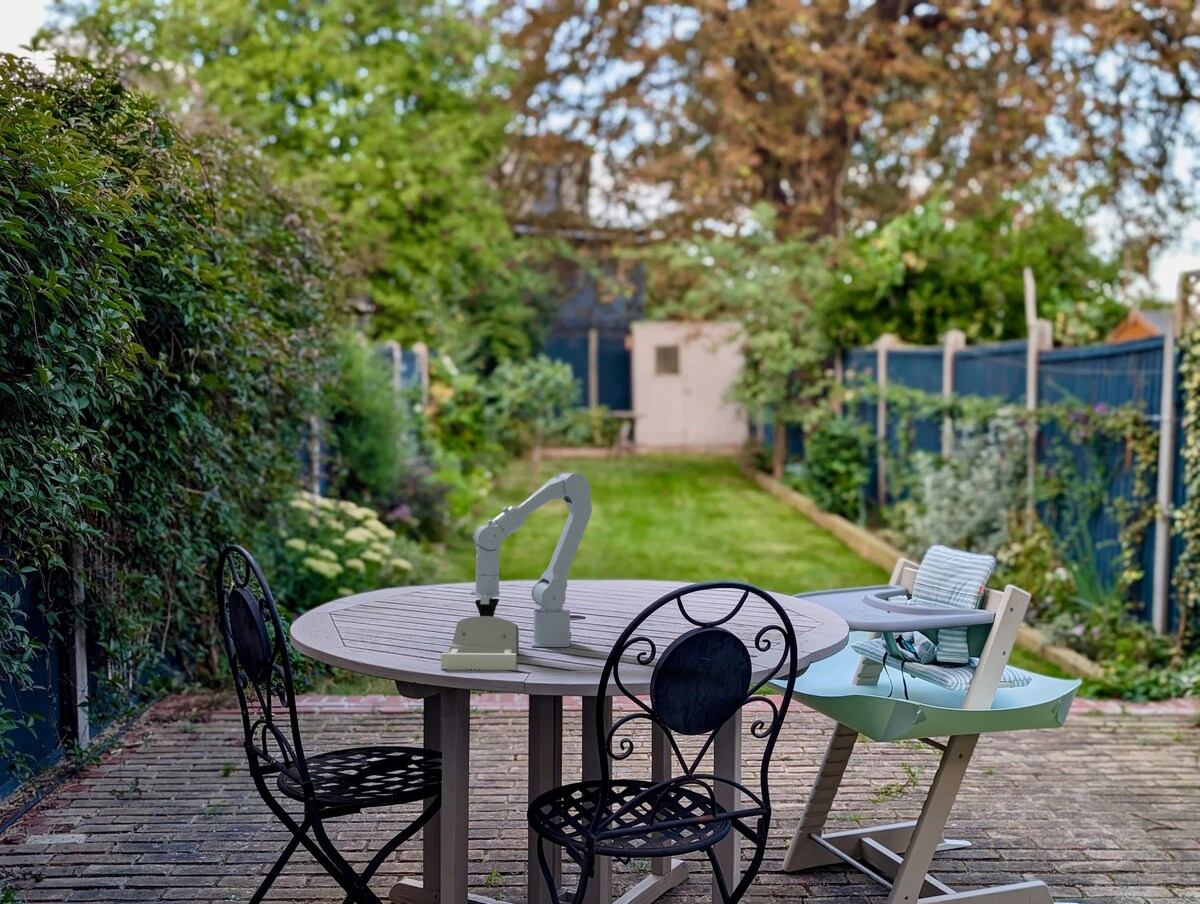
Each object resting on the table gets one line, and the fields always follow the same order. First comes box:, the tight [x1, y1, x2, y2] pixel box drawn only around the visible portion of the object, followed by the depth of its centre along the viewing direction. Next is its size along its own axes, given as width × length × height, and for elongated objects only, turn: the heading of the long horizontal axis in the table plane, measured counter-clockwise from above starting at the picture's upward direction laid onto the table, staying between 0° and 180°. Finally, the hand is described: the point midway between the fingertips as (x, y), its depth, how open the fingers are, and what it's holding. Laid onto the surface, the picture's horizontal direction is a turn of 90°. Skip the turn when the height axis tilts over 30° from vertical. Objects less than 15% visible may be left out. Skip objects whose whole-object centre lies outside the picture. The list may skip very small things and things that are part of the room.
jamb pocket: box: [440, 649, 517, 671], centre depth 261 cm, size 17×8×4 cm, turn 91°
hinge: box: [448, 615, 520, 655], centre depth 274 cm, size 17×5×10 cm, turn 75°
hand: (487, 628), depth 280 cm, fingers closed
